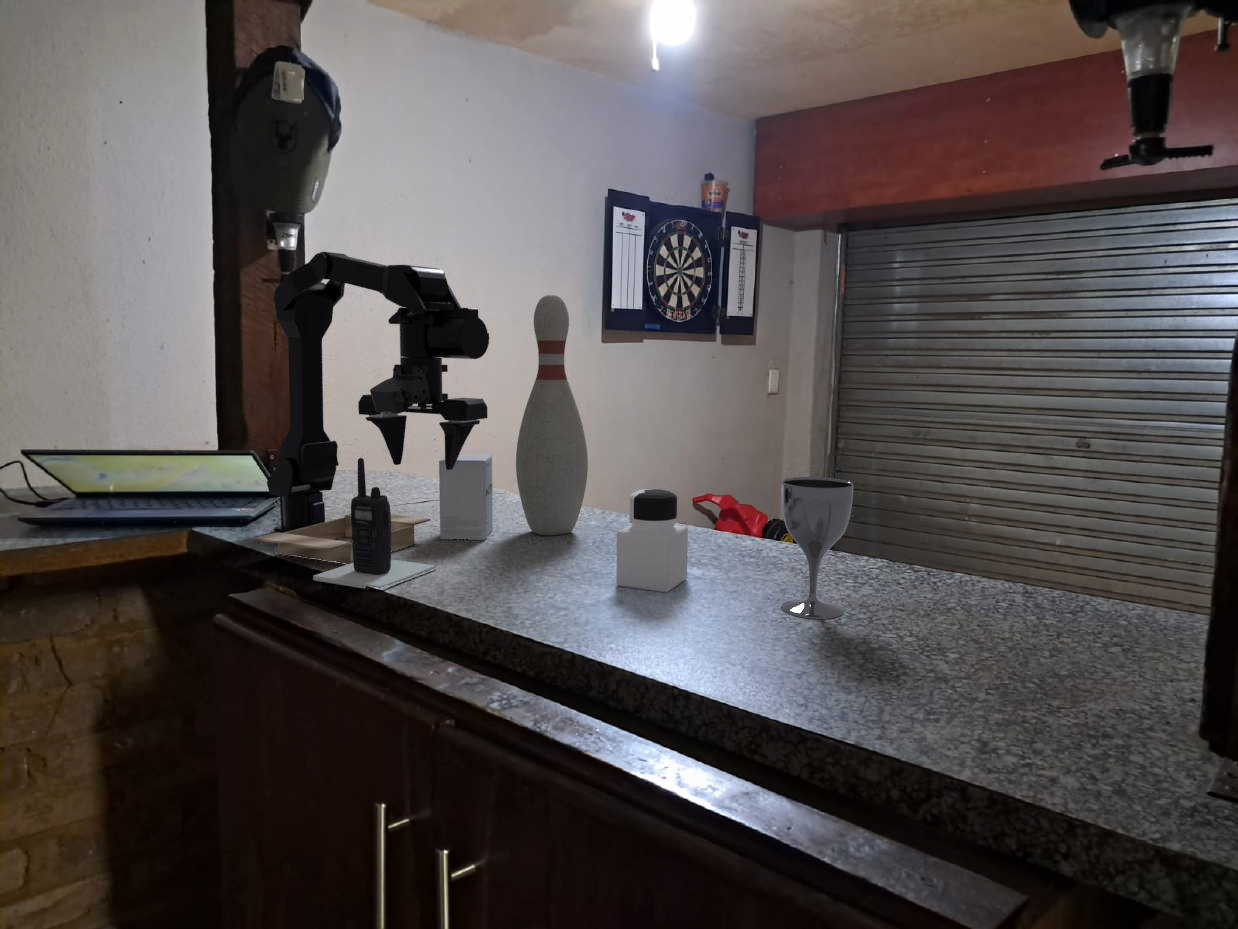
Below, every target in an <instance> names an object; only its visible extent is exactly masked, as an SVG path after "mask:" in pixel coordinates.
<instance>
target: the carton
mask: <svg viewBox="0 0 1238 929" xmlns="http://www.w3.org/2000/svg"><path fill="white" fill-rule="evenodd" d="M431 520H432V519H431V518H428V517H427V518H426V517H418V516H410V515H400V514H393V513H391V551H394V552H397V551H399V550H398V549H400V550H402V549H401V548H404V549H407V548H409V547H408V546H410V545H413V544H415V526H417V525H421V524H424V523H428V522H430V521H431ZM340 537H341V538H344V537H348V538H352V527H351V513H349V514H345V515H344V516H343V517H340V518H336V519H332V520H328V521H325V522H324V523H320V524H316V525H312V526H308V527H304V528H300V529H296V530H292V531H288V532H280V531H275V532H273V533H269V534H265V535H261V536H256V537H254V541H258V542H260V541H261V542H265V543H273V544H277V554H278V553H281V554H286V555H297V556H301V557H307V558H316V559H321V560H326V561H336V562H340V563H346V564H351V563H353V548H352V541H345V540H344V541H343V540H338V539H341V538H340ZM337 538H338V539H337ZM415 545H416V544H415ZM413 546H414V545H413ZM406 547H407V548H406ZM410 547H411V546H410ZM396 550H397V551H396Z"/></svg>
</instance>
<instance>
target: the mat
mask: <svg viewBox="0 0 1238 929" xmlns="http://www.w3.org/2000/svg"><path fill="white" fill-rule="evenodd" d="M434 568H436V569H437V565H431V564H425V563H419V562H413V561H412V562H411V561H405V560H399V559H398V560H396V559H392V558H391V568H390V570H389V571H388V572H385V573H382V574H379V575H377V574H375V573H366V572H357V571H355V570H354V564H353V563H351V564H348V565H342V566H339V567H336V568H332V569H330V570H326V571H324V572H321V573H317V574H315V575H312V576H313V577H312V580H313V581H317V582H321V583H322V582H323V583H327V584H335V585H340V586H348V587H352V588H360V589H365V588H366V586H372V587H378V588H381V587H384V586H386V585H391V584H393V583H396V582H400V581H402V580H405V579H407V578H411V577H413V576H415V575H419V574H422V573H423V572H428V571H430V570H431V569H434ZM365 590H366V589H365Z"/></svg>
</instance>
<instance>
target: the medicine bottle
mask: <svg viewBox="0 0 1238 929" xmlns="http://www.w3.org/2000/svg"><path fill="white" fill-rule="evenodd" d="M677 519H678V495H676V494H675V493H674V492H673V491H669V490H666V489H660V488H646V489H639V490H636V491H634V492H632V493H631V494H630V496H629V523H630V524H631V525H628V526H626V527H625V528H623V529H620V530H618V531H617V532H616V573H615V574H616V582H615V584H616V585H617V587H622V588H623V587H625V588H630V589H639V590H645V591H653V592H660V593H668V592H670V591H671V590H673V589H674V588H676V587H678V585H681V583H682V582H685V581H686V580H687V578H688V547H689V546H688V545H689V542H688V541H689V536H688V535H689V528H688V526H686V525H685V526H684V525H678V524H677V522H678V520H677Z"/></svg>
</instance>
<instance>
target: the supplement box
mask: <svg viewBox="0 0 1238 929" xmlns="http://www.w3.org/2000/svg"><path fill="white" fill-rule="evenodd" d="M438 470H439V471H438V475H439V476H438V478H439V480H438V481H439V485H438V486H439V487H438V488H439V533H440V534H439V539H440V540H453V539H457V540H458V541H459V539H461V540H460V541H485V540H486V539H487V537H488V536H489V534H490V533H491V532H492V531H493V530H494V528H493V527H494V526H493V525H494V524H493V523H494V522H493V519H494V518H493V516H494V514H493V512H494V510H493V506H494V505H493V504H494V503H493V501H494V500H493V496H494V495H493V494H494V493H493V492H494V491H493V489H494V488H493V455H492V454H491V455H490V454H459V456H458V458H457V460H456V463H455V465H454V467H453V469H452V470H447V469H446V464H445V457H443V458H442V459H440V460H438ZM462 539H464V540H462ZM466 539H468V540H466ZM457 540H456V541H457Z"/></svg>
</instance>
